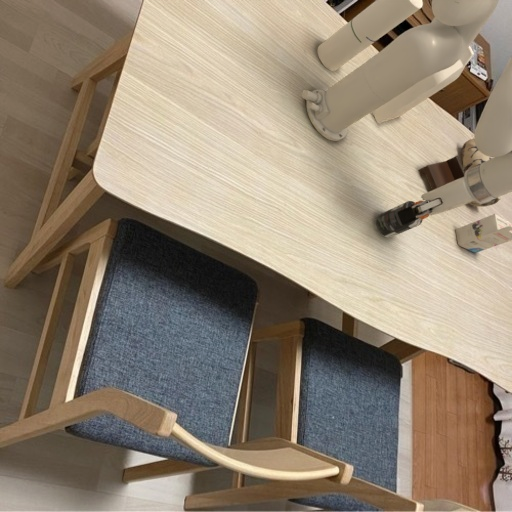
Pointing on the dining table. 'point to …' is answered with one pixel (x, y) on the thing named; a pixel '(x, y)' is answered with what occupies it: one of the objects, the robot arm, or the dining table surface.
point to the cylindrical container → (365, 30)
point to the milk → (421, 90)
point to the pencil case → (475, 164)
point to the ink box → (484, 233)
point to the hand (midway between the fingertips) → (408, 215)
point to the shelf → (443, 172)
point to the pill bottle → (396, 220)
